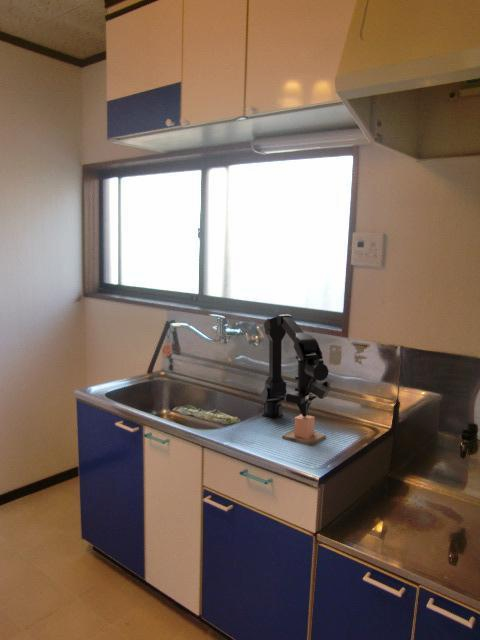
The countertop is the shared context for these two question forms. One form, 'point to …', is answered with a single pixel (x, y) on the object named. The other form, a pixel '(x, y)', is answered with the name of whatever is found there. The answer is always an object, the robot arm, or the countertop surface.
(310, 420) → the salmon orange block
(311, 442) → the stand
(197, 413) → the stone wall
